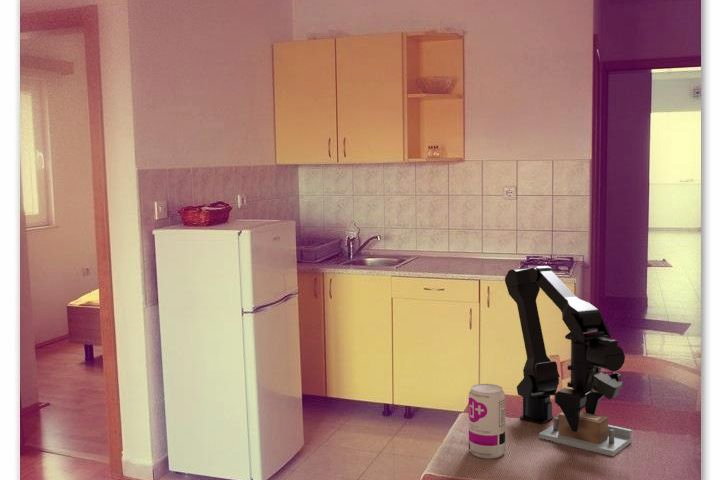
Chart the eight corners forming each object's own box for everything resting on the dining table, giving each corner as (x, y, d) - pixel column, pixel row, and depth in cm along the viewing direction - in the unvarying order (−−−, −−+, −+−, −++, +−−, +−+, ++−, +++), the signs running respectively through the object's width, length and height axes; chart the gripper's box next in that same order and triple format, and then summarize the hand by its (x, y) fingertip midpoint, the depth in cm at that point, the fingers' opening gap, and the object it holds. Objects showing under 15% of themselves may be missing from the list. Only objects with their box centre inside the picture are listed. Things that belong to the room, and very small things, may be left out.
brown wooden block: (558, 434, 168) (558, 413, 168) (567, 428, 172) (567, 408, 171) (599, 444, 161) (599, 422, 161) (608, 438, 165) (608, 416, 165)
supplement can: (483, 462, 155) (483, 395, 154) (461, 450, 163) (461, 386, 161) (512, 455, 159) (512, 390, 158) (490, 443, 166) (489, 381, 165)
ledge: (538, 438, 169) (538, 421, 169) (559, 425, 177) (559, 409, 177) (613, 456, 157) (613, 438, 157) (631, 442, 166) (631, 424, 165)
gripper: (601, 375, 153) (600, 445, 154) (632, 358, 167) (631, 422, 168) (553, 367, 160) (552, 434, 161) (587, 351, 174) (586, 413, 175)
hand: (582, 426), depth 166 cm, fingers open, 9 cm apart
